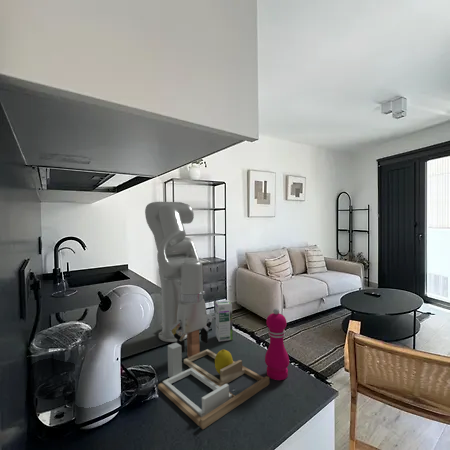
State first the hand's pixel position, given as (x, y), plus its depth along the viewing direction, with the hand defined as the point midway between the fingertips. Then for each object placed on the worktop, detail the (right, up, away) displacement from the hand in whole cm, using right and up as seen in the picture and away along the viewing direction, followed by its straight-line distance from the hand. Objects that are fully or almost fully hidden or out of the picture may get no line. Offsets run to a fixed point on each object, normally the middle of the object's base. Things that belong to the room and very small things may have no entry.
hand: (193, 346), depth 92 cm
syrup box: (+11, -4, +14) cm, 18 cm away
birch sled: (+6, -3, -7) cm, 10 cm away
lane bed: (+7, -4, -16) cm, 18 cm away
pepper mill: (+27, -4, -11) cm, 29 cm away
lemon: (+11, -4, -12) cm, 16 cm away
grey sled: (+2, -4, -18) cm, 19 cm away
